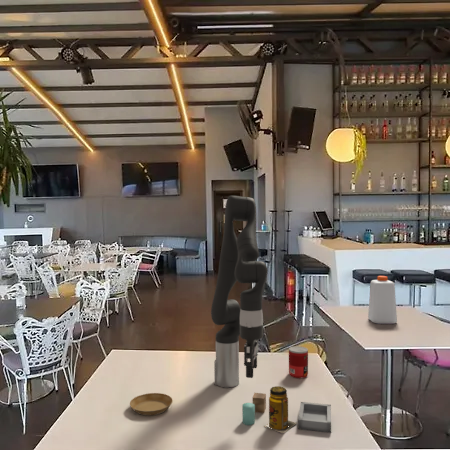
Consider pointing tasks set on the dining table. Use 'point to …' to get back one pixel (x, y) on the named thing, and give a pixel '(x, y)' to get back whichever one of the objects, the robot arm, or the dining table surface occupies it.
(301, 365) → the canned food
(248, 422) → the teal cylinder
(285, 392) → the condiment
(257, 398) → the walnut block
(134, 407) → the plant saucer
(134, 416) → the dining table surface
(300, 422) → the collection tray
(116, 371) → the dining table surface
